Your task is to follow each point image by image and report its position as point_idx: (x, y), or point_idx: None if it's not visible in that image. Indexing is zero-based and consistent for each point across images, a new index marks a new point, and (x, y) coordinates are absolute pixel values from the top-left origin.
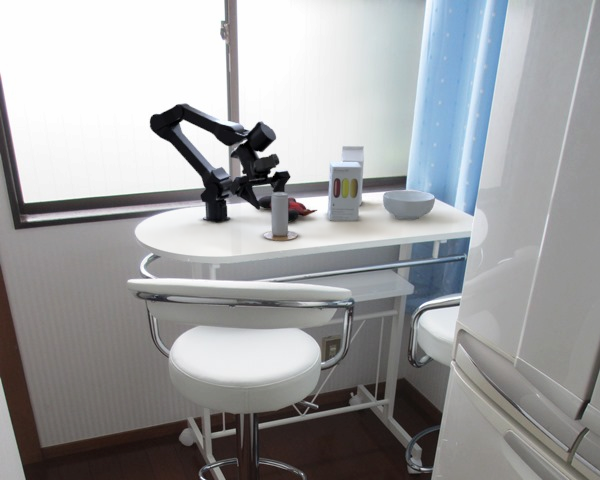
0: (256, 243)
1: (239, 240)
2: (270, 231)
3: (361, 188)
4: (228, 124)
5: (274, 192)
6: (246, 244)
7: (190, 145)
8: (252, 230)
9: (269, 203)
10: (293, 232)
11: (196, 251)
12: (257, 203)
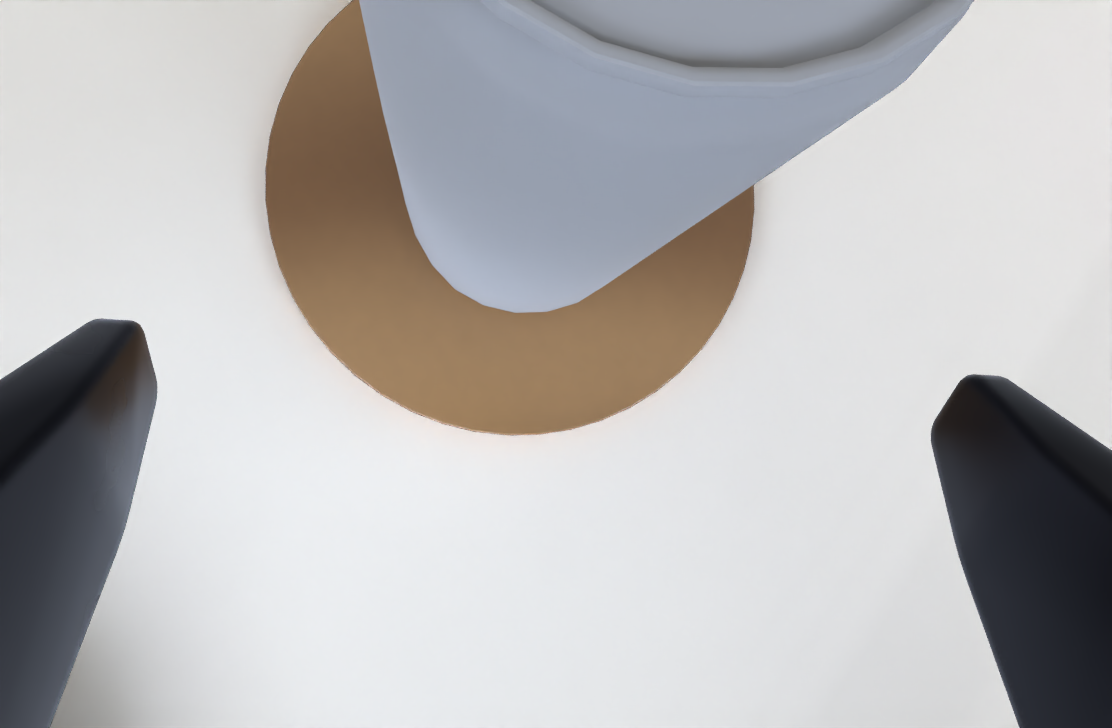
0: (959, 150)
1: (1045, 395)
2: (520, 425)
3: None
4: None
5: (760, 75)
6: (1073, 199)
7: None
8: (640, 694)
9: None
10: (282, 158)
11: None
12: (1083, 445)
